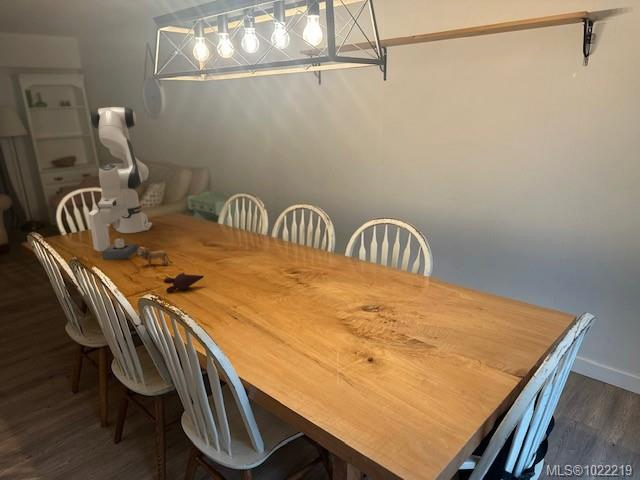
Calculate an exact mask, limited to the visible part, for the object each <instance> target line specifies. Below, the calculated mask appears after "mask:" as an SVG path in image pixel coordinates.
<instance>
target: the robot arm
mask: <svg viewBox="0 0 640 480" xmlns="http://www.w3.org/2000/svg"><path fill="white" fill-rule="evenodd" d="M89 121H90V124H91V126H92V127H94V129H98V137H99V141H100V143H101V144H102V145H103V146H104V147H106V148H108V149H109V152H110V154H111V155H112V156H113V157H114V158H117V159H119V160H122V163H121V162H119V163H107V164H103V165H100V166H99V168H98V174H99V175H98V184H99V187H100V188H101V198H100V201H99V202H98V203H97V206H98V207H97V208H98V209H99V211H100V215H101V220H102V222H103V224H107V225H111V224H112V225H113V229H115V231H116V232H119V233H121V234H135V233H140V232H145V231H149V230H150V228H151V227H152V226H153V222H149V220H148V216H147V214H145V213H144V212H142V209H143V205H142V204H140V203H139V202H140V201H139V196H138V195H139V194H138V192H137V191H136V190H137V189H138V188H139V187H140V186H142V183H143V181H147V179H148V177H149V175H150V174H149V173H150V172H149V168H148V166H147V165H146V164H145V163H143V162H142V161H140V160H139V159H138V158H137V157H136V156H135V155H136V154H135V152H134V149H133V145H132V143H131V139H130V133H129V130H130V129H131V128H134V127H135V125H136V121H137V115H136V113H135V111H134V109H133V108H131V107H128V106H127V107H125V106H124V107H119V106H111V107H101V108H100V107H97V108H93V109H91V111H90V113H89Z"/></svg>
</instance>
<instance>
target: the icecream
mask: <svg viewBox="0 0 640 480" xmlns="http://www.w3.org/2000/svg"><path fill="white" fill-rule="evenodd" d="M204 277H205V276H204V275H197V274H185V272H181V273H179V274H177V275H176V276H175V278H173V277H172V278H171V277H170V276H168V277H166V278H164V279H163V283H164V284H167V285H169V284H170V285H171V284H172V286H169V287H167V288H166V289H165V292H166V293H169V292H170V293H172V292H174V291H176V290H180V291H186V290H189V287H191V286H192V285H194V284H196V283H197V282H198V281H200V280H202V279H203V278H204ZM170 293H169V294H170Z"/></svg>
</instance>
